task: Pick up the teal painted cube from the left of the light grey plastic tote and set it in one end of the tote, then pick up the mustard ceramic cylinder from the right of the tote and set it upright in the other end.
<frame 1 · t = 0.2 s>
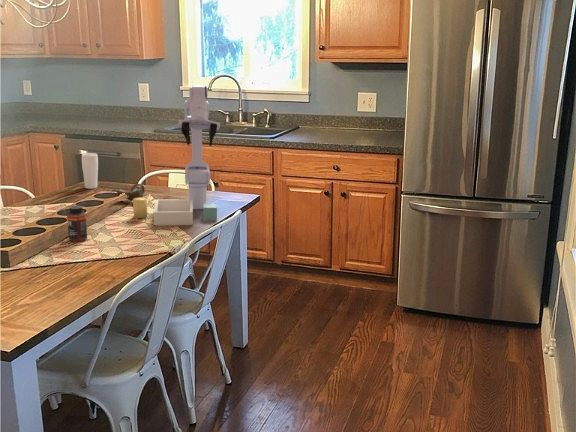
hand: (199, 143, 218), 31 cm above the table, tool tilted 45°, fingers open, 7 cm apart
grey tote: (174, 218, 236), on the table
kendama: (132, 200, 259), on the table
teal cube: (209, 218, 238), on the table
drinking glass: (91, 188, 275), on the table
supplement bottle: (78, 240, 208), on the table
mustard cylinder: (140, 217, 235), on the table
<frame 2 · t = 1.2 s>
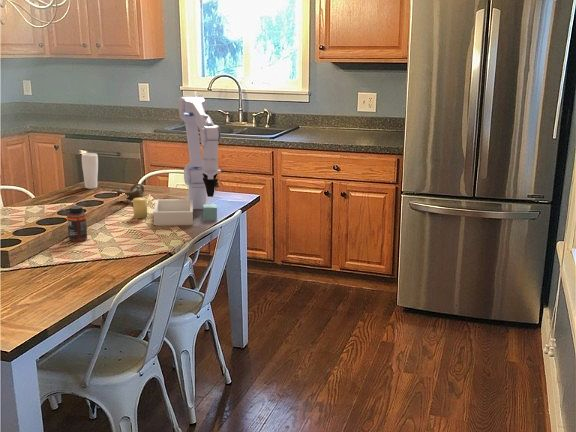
hand: (210, 194, 235), 10 cm above the table, tool pointing down, fingers open, 7 cm apart
nothing on the table moved.
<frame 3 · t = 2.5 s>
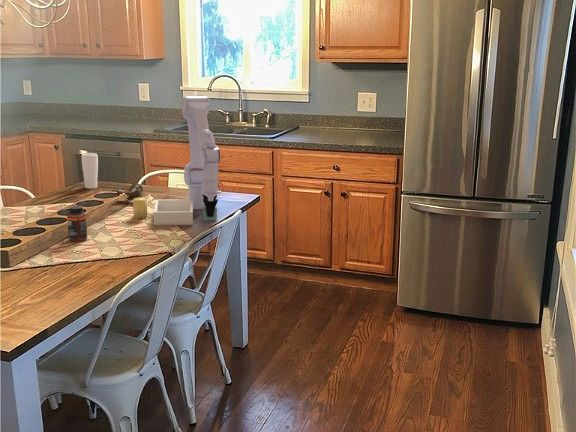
hand: (210, 214, 237), 1 cm above the table, tool pointing down, fingers closed on teal cube, 5 cm apart
teal cube: (209, 218, 238), on the table, touching gripper
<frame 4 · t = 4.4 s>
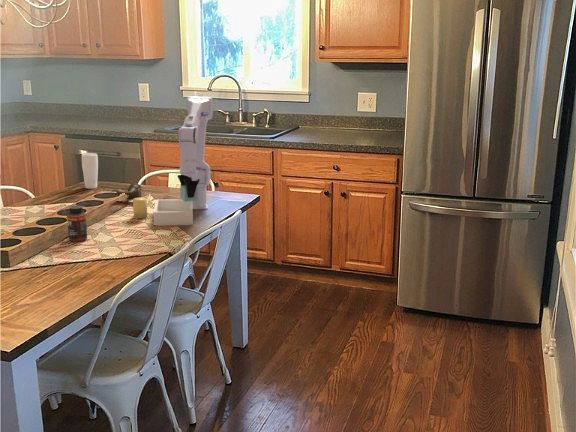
hand: (188, 195, 232), 9 cm above the table, tool pointing down, fingers closed on teal cube, 5 cm apart
teal cube: (189, 199, 232), point 8 cm above the table, touching gripper
when the fingers open (3 cm above the table, at t = 6.4 s): teal cube drops 1 cm, resting on grey tote.
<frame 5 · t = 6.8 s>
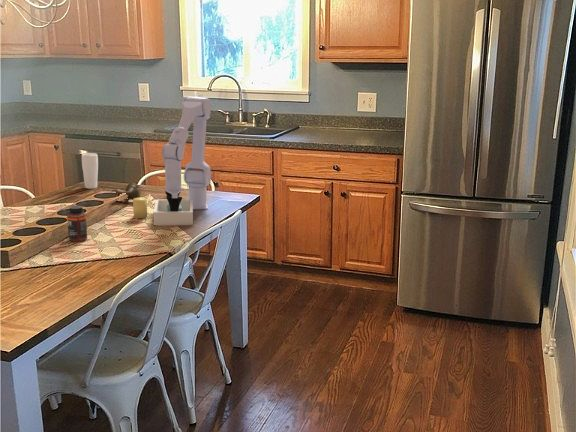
hand: (173, 212, 231), 3 cm above the table, tool pointing down, fingers open, 7 cm apart
teal cube: (174, 219, 232), point 1 cm above the table, touching grey tote
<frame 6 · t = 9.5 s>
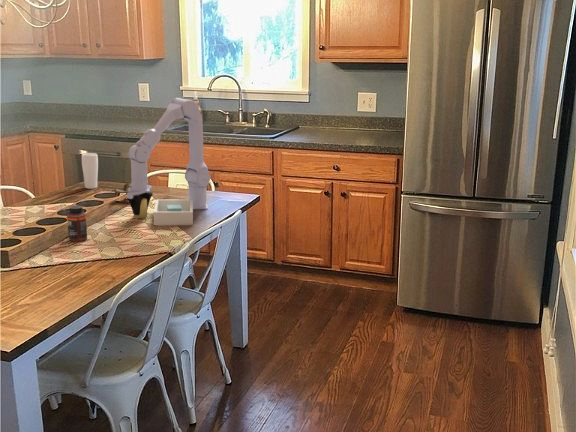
hand: (140, 212, 235), 2 cm above the table, tool pointing down, fingers closed on mustard cylinder, 5 cm apart
mustard cylinder: (140, 217, 235), on the table, touching gripper
when the fingers open (3 cm above the table, at t = 13.2 s): mustard cylinder stays where it is, resting on grey tote.
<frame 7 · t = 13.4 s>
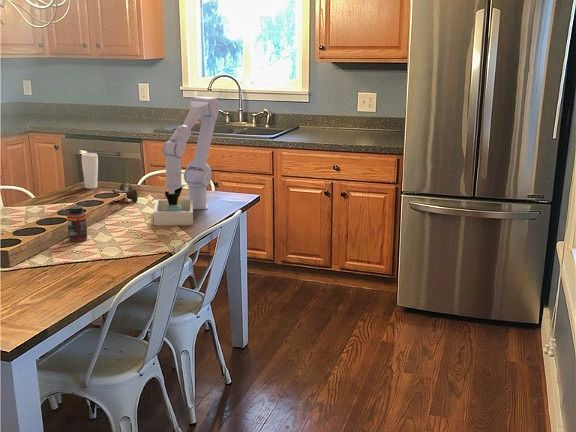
hand: (174, 207, 238), 3 cm above the table, tool pointing down, fingers open, 6 cm apart
teal cube: (174, 219, 232), point 1 cm above the table, touching grey tote, gripper
mustard cylinder: (174, 214, 239), point 1 cm above the table, touching grey tote
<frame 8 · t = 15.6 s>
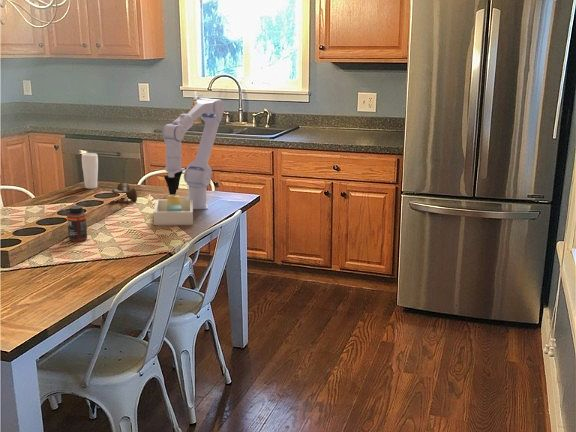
hand: (173, 192, 236), 9 cm above the table, tool pointing down, fingers open, 7 cm apart
teal cube: (174, 219, 232), point 1 cm above the table, touching grey tote
at the end: teal cube inside the target area on the grey tote (3.7 cm from its centre), point 0.6 cm above the grey tote's base; mustard cylinder inside the target area on the grey tote (3.5 cm from its centre), point 0.6 cm above the grey tote's base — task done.
